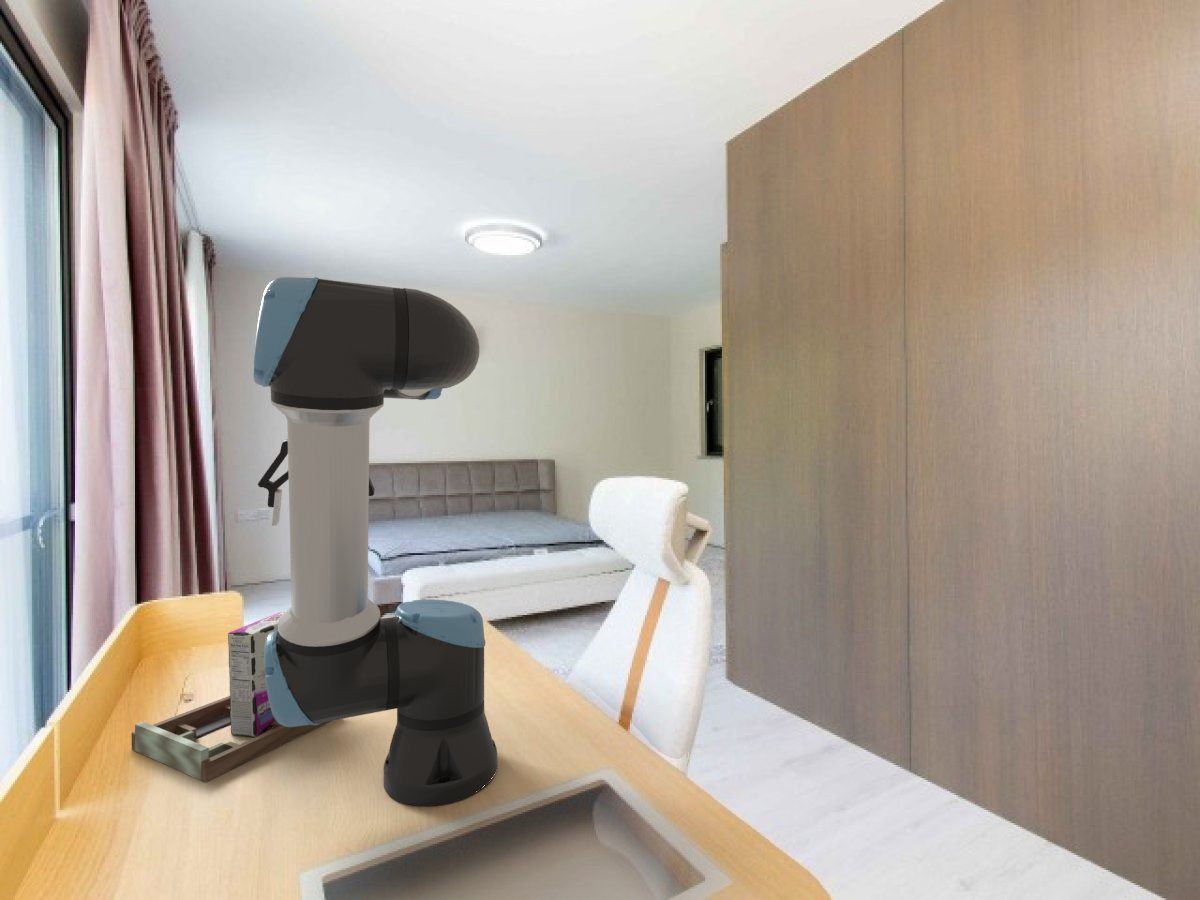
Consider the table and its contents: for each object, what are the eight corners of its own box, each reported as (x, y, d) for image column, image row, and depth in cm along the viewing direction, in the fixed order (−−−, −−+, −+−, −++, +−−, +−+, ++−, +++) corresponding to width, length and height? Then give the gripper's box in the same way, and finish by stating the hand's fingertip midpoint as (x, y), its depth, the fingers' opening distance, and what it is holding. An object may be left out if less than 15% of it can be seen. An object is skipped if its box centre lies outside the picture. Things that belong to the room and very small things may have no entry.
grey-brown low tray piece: (338, 717, 97) (338, 693, 97) (205, 782, 78) (205, 752, 78) (267, 695, 105) (267, 673, 105) (131, 749, 87) (131, 722, 87)
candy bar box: (280, 704, 102) (279, 611, 102) (305, 706, 101) (304, 612, 101) (227, 735, 91) (226, 631, 91) (254, 738, 90) (253, 633, 90)
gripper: (395, 424, 118) (382, 523, 121) (255, 407, 109) (246, 514, 113) (394, 431, 111) (381, 536, 114) (245, 413, 102) (236, 527, 106)
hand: (314, 525), depth 114 cm, fingers open, 13 cm apart
